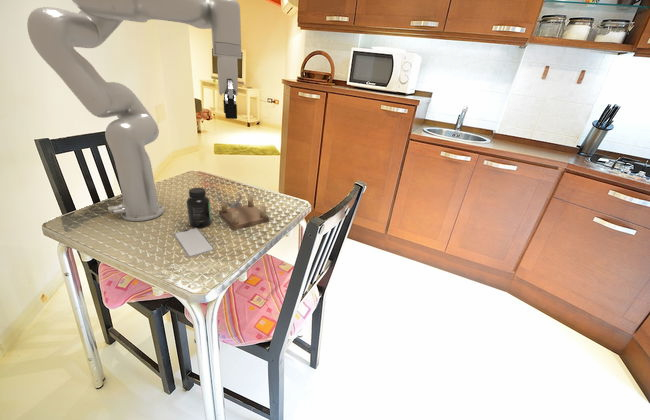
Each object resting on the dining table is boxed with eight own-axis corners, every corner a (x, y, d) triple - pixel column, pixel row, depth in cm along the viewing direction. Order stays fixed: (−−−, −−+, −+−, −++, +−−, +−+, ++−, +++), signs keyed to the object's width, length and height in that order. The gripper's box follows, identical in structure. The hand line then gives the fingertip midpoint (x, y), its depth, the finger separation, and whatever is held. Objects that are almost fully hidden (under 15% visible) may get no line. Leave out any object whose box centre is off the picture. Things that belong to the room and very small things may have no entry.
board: (233, 230, 96) (232, 215, 93) (218, 214, 105) (217, 200, 102) (269, 221, 103) (269, 207, 101) (252, 207, 112) (252, 194, 110)
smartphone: (188, 257, 80) (172, 233, 90) (188, 259, 81) (172, 235, 91) (215, 249, 85) (197, 227, 95) (215, 251, 85) (197, 229, 95)
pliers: (236, 190, 125) (259, 207, 112) (236, 192, 125) (259, 209, 112) (213, 194, 119) (235, 213, 106) (213, 196, 119) (235, 215, 106)
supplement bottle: (215, 221, 100) (213, 189, 95) (200, 230, 94) (197, 196, 89) (200, 216, 102) (196, 184, 97) (184, 224, 96) (180, 191, 91)
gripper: (212, 51, 87) (216, 111, 94) (213, 49, 72) (217, 120, 80) (238, 53, 89) (240, 112, 97) (244, 52, 75) (246, 121, 82)
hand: (230, 115), depth 88 cm, fingers open, 9 cm apart
